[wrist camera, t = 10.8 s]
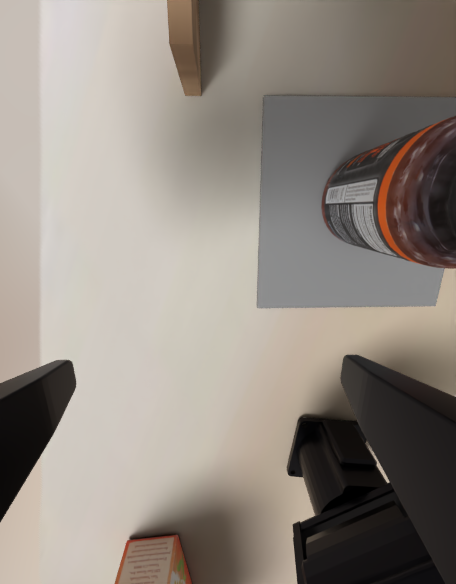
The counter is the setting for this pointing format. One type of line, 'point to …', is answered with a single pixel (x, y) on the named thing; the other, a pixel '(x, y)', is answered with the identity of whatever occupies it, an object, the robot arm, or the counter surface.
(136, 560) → the cracker box
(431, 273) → the mat
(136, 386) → the counter surface
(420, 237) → the supplement bottle
